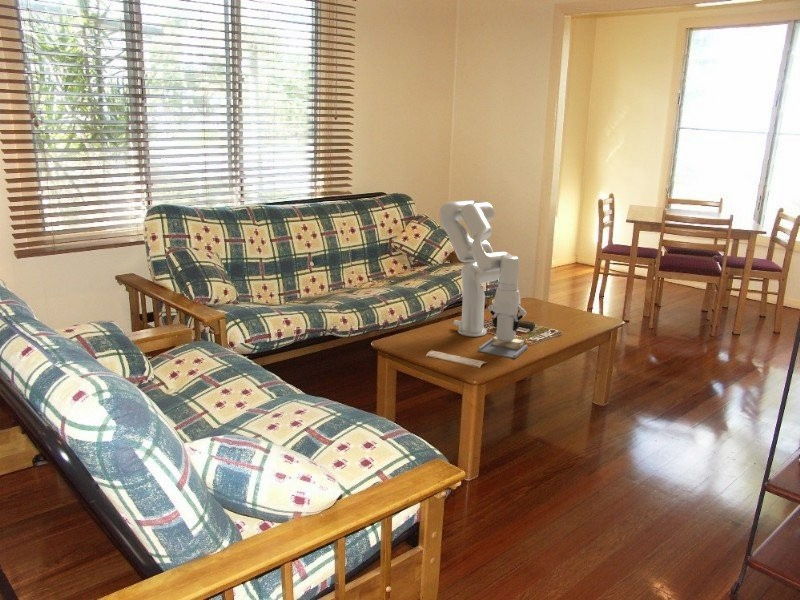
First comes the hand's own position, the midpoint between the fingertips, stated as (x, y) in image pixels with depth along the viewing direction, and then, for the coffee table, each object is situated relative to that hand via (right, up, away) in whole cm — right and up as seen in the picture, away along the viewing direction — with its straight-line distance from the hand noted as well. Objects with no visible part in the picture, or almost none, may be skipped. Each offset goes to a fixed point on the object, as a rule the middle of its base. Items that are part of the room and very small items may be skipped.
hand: (506, 328), depth 290 cm
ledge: (+1, -8, +5) cm, 9 cm away
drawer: (-1, -9, +1) cm, 9 cm away
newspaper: (-21, -13, -10) cm, 26 cm away
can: (0, -5, +1) cm, 5 cm away
